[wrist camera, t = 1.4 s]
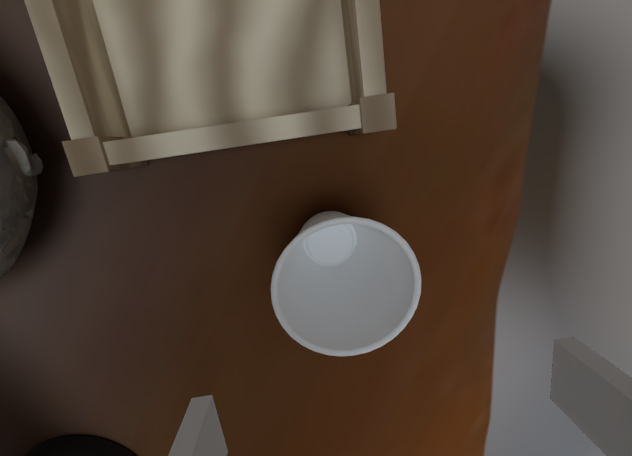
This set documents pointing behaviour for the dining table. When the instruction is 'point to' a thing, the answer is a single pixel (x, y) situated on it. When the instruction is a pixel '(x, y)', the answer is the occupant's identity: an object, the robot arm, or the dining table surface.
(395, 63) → the dining table surface
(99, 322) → the dining table surface
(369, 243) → the cup
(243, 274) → the dining table surface
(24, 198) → the bowl
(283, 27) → the crate
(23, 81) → the dining table surface
